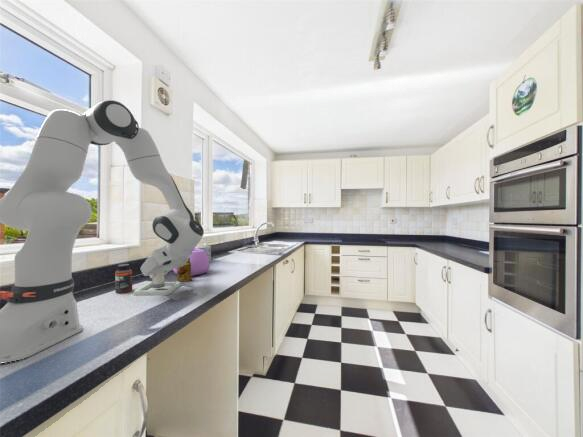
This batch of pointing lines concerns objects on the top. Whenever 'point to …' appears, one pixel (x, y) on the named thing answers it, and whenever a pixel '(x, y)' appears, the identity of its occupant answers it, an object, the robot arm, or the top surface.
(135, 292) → the parts tray
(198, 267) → the teapot
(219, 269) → the top surface
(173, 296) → the holder
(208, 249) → the light bulb box
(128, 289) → the supplement bottle
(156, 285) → the salt shaker
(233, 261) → the top surface
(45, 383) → the top surface
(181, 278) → the condiment
